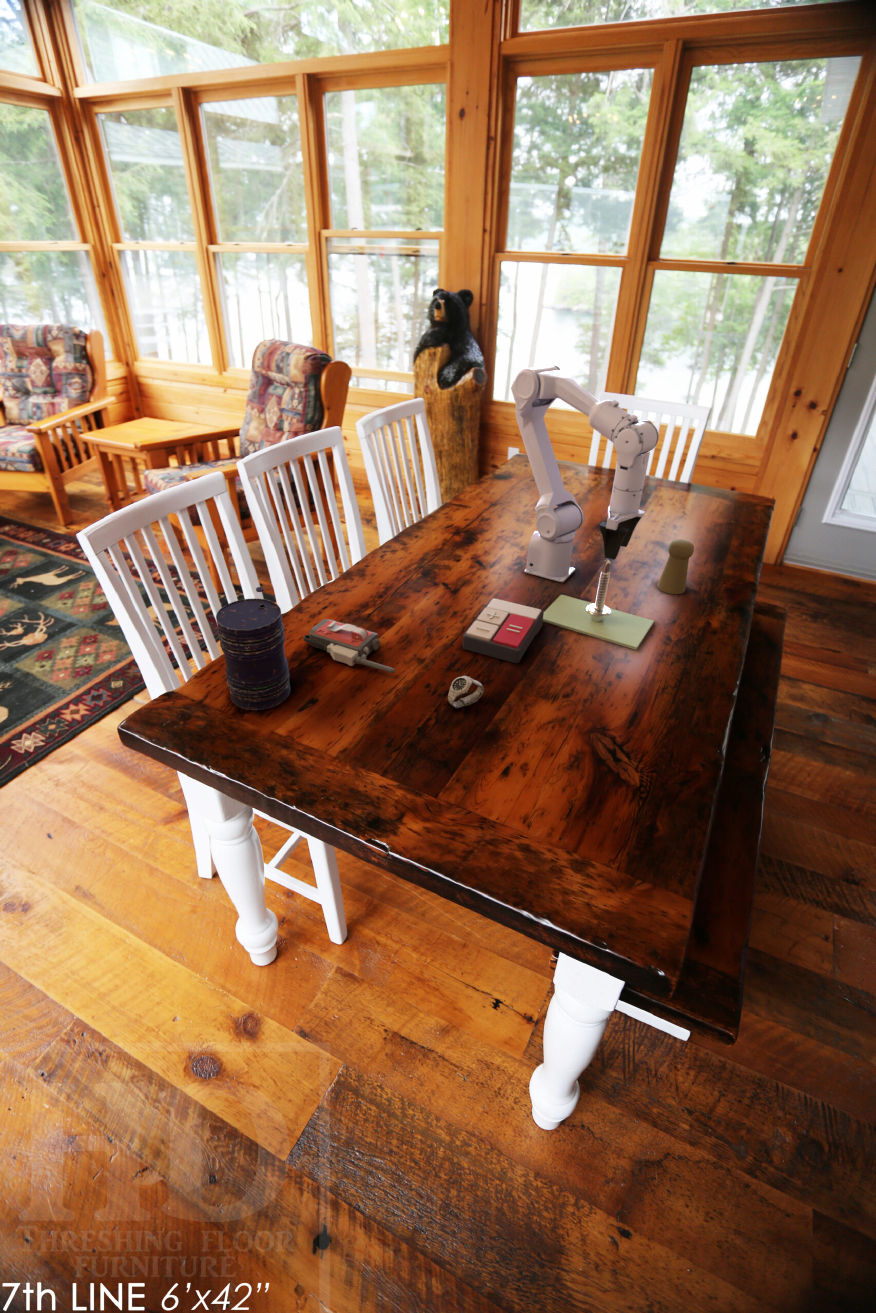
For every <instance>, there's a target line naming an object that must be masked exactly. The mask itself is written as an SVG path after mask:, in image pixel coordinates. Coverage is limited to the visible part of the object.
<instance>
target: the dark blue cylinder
mask: <svg viewBox="0 0 876 1313" xmlns="http://www.w3.org/2000/svg"><path fill="white" fill-rule="evenodd" d="M264 591H265V587H263V586H258V587H256V588H255V592H256V593H263V592H264ZM215 621H216V624H217V635H218V640H219V647H220V648H221V651H222V653H223V655H224V660H225V677H226V684H227V687H228V690H229V697H230V700H231V701H232V703H233V704H234V705H235V706H236V707H238V708H240V709H244V710H249V711H261V710H267V709H271V708H273V707H276V706H278V705H280V704H282V703H283V702H284V701H285V700H287V698H289V696H290V693H291V684H290V670H289V669H290V668H289V663H288V659H287V657H286V654H285V640H286V635H285V627H284V623H283V617H282V610H281V607H280V606H279V604H277V603H275V602H274V601H272V600H269V599H265V598H244V599H238V600H235V601H232V602H230V603H228V604H225V605H224V606H222V607H221V608H220V609H218V610H217V612H216V615H215Z"/></svg>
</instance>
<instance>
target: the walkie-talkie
mask: <svg viewBox="0 0 876 1313" xmlns="http://www.w3.org/2000/svg"><path fill="white" fill-rule="evenodd" d="M302 639H303V641H304V643H308V644H310V646H311V647H314V648H316V649H318V650H322V651H325V652H326V653H329V654H330V656H331V658H332V659H333V661H336V662H339V663H343V664H345V665H348V666H350V667H353V666H354V665H355V664H356V665H362V666H365V667H369V668H372V669H374V670H378V671H385V672H387V673H391V674H395V673H396V671H395V668H393V667H390V666H387V665H384V664H382V663H381V664H380V663H378V662H375V661H372V660H369V659H367V656H368V655H369V654H371V653H372V652H373V651H377V650H378V649H379V647H380V643H381V642H380V639H379V634H378V633H377V632H374V631H371V630H367V629H365V628H364V627H361V626H357V625H355V624H350V623H344V622H340V621H337V620H334V619H330V618H329V619H328V618H324V619H322V620H321V621H319V623H317V624H315V626H313V627H312V628H310V629H309V634H305V635H303V638H302Z"/></svg>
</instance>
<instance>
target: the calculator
mask: <svg viewBox="0 0 876 1313" xmlns="http://www.w3.org/2000/svg"><path fill="white" fill-rule="evenodd" d="M544 612H545V611H544V610H542V609H540V608H536V607H532V606H528V605H523V604H519V603H515V602H511V601H507V600H503V599H498V598H491V599H490V600H489V601H488V602H487V604H486V605H485V606H484V608H483V609H482V611H480V613H479V614H478V615H477V617H476V618H475V619H474V621H473V622H472V623H471V624H470V626H469V627H468V628H467V630H466V631H465V632H464V633H463V635H462V649H463V650H466V651H469V652H473V653H476V654H480V655H484V656H487V657H491V658H495V659H497V660H498V659H499V660H502V661H505V662H509V663H513V664H519V663H520V661H521V659H522V658H523V656H524V655H525V653H526V651H527V650H528V648H529V647H530V645H531V643H532V642H533V640H534V639H535V636H537V635H538V634H539V632H540V630H541V629H542V627H543V623H544V622H543V614H544Z"/></svg>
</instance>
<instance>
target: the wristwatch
mask: <svg viewBox="0 0 876 1313" xmlns="http://www.w3.org/2000/svg"><path fill="white" fill-rule="evenodd" d="M473 684H474V685H475V686H477V688H476V690H475V691H474V692H472V693H471V694H469V695H467V696H465V697H460V698H459V699H458V700H457V701H455V700H456V699H457V698H458V697H459V696H461V695H465V694H467V693H468V691H469V689H470V687H471V686H472V685H473ZM484 690H485V688H484V686H483V684H482V683H481V682H480V681H478V680H475V679H474V678H471V676H468V675H462V676H459V677H456V678H455V679H453V681H452V683H451V684H450V687H449V691H448V693H447V694H448V695H447V701H448V703H449V704H450V706H452V708H454V709H460V708H461V709H462V708H463V707H467V706H471V705H472V704H475V703H476V702H478V701H479V699H480V698H481V697H482V695H483V693H484V692H485V691H484Z"/></svg>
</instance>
